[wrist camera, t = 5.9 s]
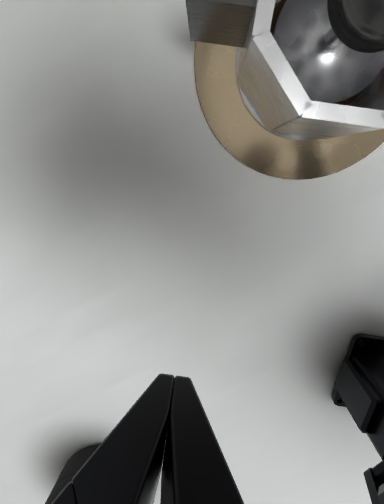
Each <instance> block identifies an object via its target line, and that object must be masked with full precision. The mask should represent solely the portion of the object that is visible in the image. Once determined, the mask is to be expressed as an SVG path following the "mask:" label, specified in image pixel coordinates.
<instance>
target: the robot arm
mask: <svg viewBox="0 0 384 504" xmlns="http://www.w3.org/2000/svg"><path fill="white" fill-rule="evenodd" d="M360 340H362V341H361V342H359V341H360ZM173 385H174V386H173ZM339 398H340V399H339ZM332 400H333V402H334V404H335V405H337V406H343V407H347V408H348V410H349V412H350V414H351V415H352V417H353V419H354V421H355V422H356V424H357V426H358V428H359V429H360V430H361V432H362V433H367V435H368V436H369V438H370V440H371V442H372V443H373V445H374V447H375V448H376V450H377V452H378V453H379V455H380V457H381V459H382V461H381V462H380V463H379V464H377V465H376V466H375V467H373V468H369V469H368V470H366V471H365V472H364V476H365V480H366V484H367V487H368V491H369V494H370V498H371V501H372V504H384V337H379V336H372V335H365V334H357V335H355V336H354V337H353V338H352V341H351V344H350V347H349V349H348V352H347V355H346V358H345V360H344V361H343V363H342V366H341V369H340V372H339V375H338V377H337V380H336V383H335V388H334V391H333V394H332ZM166 435H167V436H166ZM165 442H166V443H165ZM164 449H165V450H164ZM163 456H164V457H163ZM162 462H163V466H162ZM161 468H162V478H161V503H160V504H244V502H243V500H242V498H241V495H240V493H239V491H238V488H237V486H236V484H235V481H234V479H233V477H232V474H231V472H230V470H229V467H228V465H227V463H226V460H225V458H224V456H223V453H222V451H221V449H220V446H219V444H218V442H217V439H216V437H215V435H214V432H213V430H212V428H211V425H210V423H209V420H208V418H207V416H206V413H205V411H204V409H203V406H202V404H201V402H200V399H199V397H198V395H197V392H196V390H195V388H194V385H193V383H192V381H191V379H190V378H189V377H183V376H176V377H175V379H174V376H173V375H169V374H159V375H158V376H157V377H156V378H155V380H154V381H153V382H152V383H151V384H150V386H149V387H148V388H147V389H146V391H145V392H144V393H143V394H142V395H141V397H140V398H139V399H138V400H137V401H136V403H135V404H134V405H133V406H132V407H131V409H130V410H129V411H128V412H127V413H126V415H125V416H124V417H123V418H122V419H121V421H120V422H119V423H118V424H117V425H116V427H115V428H114V429H113V430H112V431H111V433H110V434H109V435H108V436H107V437H106V439H105V440H104V441H103V442H102V444H101V445H100V446H99V447H98V448H97V450H96V451H95V452H94V453H93V454H92V456H91V457H90V458H89V459H88V460H87V462H86V463H85V464H84V465H83V466H82V468H81V469H80V470H79V471H78V472H77V474H76V475H75V476H74V477H73V478H72V483H71V482H69V483H68V484H67V485H66V487H65V488H64V489H63V490H62V491H61V493H60V494H59V495H58V496H57V497H56V499H55V500H54V501H53V502H52V503H51V504H153V502H154V498H155V494H156V490H157V486H158V482H159V478H160V473H161Z"/></svg>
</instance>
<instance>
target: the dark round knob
mask: <svg viewBox="0 0 384 504" xmlns="http://www.w3.org/2000/svg"><path fill="white" fill-rule="evenodd" d="M273 38H274V39H275V41H276V43H277V44H278V46H279V48H280V49H281V51H282V53H283V54H284V56H285V58H286V60H287V61H288V63H289V65H290V66H291V68H292V70H293V71H294V73H295V75H296V77H297V78H298V80H299V82H300V83H301V85H302V87H303V88H304V90H305V92H306V93H307V95H308V97H309V99H310V100H311V101H318V102H325V103H332V104H334V103H338V102H340V101H343V100H346V99H348V98H350V97H352V96H354V95H356V94H357V93H359V92H360V91H362V90H363V89H364V88H366V87H367V86H368V85H369V84H370V83H371V82H372V81H373V80H374V79H375V78H376V77H377V75H378V74H379V73H380V71H381V70H382V68H383V67H384V0H287V1H286V2H285V4H284V6H283V8H282V10H281V12H280V14H279V16H278V19H277V22H276V25H275V28H274V33H273Z"/></svg>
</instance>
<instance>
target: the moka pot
mask: <svg viewBox="0 0 384 504" xmlns="http://www.w3.org/2000/svg"><path fill="white" fill-rule="evenodd" d="M286 1H287V0H186V7H187V15H188V22H189V30H190V38H191V41H196V49H195V78H196V85H197V91H198V97H199V100H200V103H201V107H202V110H203V113H204V115H205V117H206V120H207V122H208V124H209V126H210V128H211V129H212V131H213V133H214V134H215V136H216V138H217V139H218V140H219V141H220V143H221V144H222V145H223V146H224V148H225V149H226V150H227V151H229V152H230V153H231V154H232V155H233V156H234V157H235V158H236V159H238V160H239V161H240V162H242V163H243V164H245V165H246V166H248V167H250V168H252V169H254V170H256V171H258V172H261V173H263V174H266V175H269V176H273V177H278V178H283V179H296V180H298V179H312V178H317V177H322V176H326V175H329V174H332V173H335V172H338V171H341V170H343V169H345V168H347V167H349V166H351V165H353V164H355V163H356V162H358V161H360V160H361V159H363V158H364V157H366V156H367V155H368V154H370V153H371V152H372V151H374V150H375V149H376V148H377V147H378V146H380V145H381V144H382V143H383V142H384V67H383V68H382V70H381V71H380V73H379V74H378V75H377V77H376V78H375V79H374V80H373V81H372V82H371V83H370V84H369V85H368V86H367V87H366V88H364V89H363V90H362V91H360V92H359V93H357V94H356V95H354V96H352V97H350V98H348V99H346V100H343V101H340V102H338V103H334V104H332V103H325V102H318V101H311V100H310V99H309V97H308V95H307V93H306V92H305V90H304V88H303V87H302V85H301V83H300V82H299V80H298V78H297V77H296V75H295V73H294V71H293V70H292V68H291V66H290V65H289V63H288V61H287V60H286V58H285V56H284V54H283V53H282V51H281V49H280V48H279V46H278V44H277V43H276V41H275V39H274V38H273V33H274V28H275V25H276V22H277V19H278V16H279V14H280V12H281V10H282V8H283V6H284V4H285V2H286Z"/></svg>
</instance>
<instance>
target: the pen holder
mask: <svg viewBox="0 0 384 504" xmlns="http://www.w3.org/2000/svg"><path fill="white" fill-rule="evenodd" d="M99 446H100V445H96V446H91V447H87V448H85V449H83V450H81V451H79V452H77V453H76V454H74V455H73V456H72V457H71V458H70V459H69V460H68V462H67V463H66V465H65V467H64V469H63V470H62V472H61V474H60V476H59V478H58V480H57V482H56V484H55V486H54V488H53V490H52V491H51V493H50V495H49V497H48V499H47V501H46V503H45V504H51V503H52V502H53V501H54V500H55V499H56V497H57V496H58V495H59V494H60V493H61V491H62V490H63V489H64V488H65V487H66V485H67V484H68V483H69V482H71V483H72V478H73V477H74V476H75V475H76V474H77V472H78V471H79V470H80V469H81V468H82V466H83V465H84V464H85V463H86V462H87V460H88V459H89V458H90V457H91V456H92V454H93V453H94V452H95V451H96V450H97V448H98V447H99Z"/></svg>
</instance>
